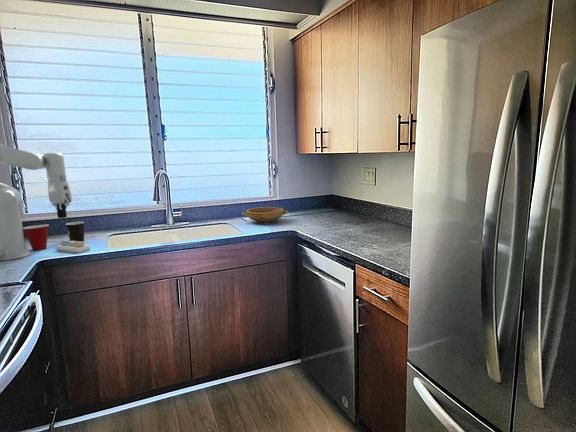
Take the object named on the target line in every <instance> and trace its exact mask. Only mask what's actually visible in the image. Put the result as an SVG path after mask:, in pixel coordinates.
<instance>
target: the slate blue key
mask: <svg viewBox="0 0 576 432" xmlns="http://www.w3.org/2000/svg"><path fill="white" fill-rule="evenodd" d="M69 241H70V239H64V240H61V241H60V242H61V245H66V246H67V245H68V242H69Z"/></svg>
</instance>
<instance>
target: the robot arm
mask: <svg viewBox="0 0 576 432" xmlns="http://www.w3.org/2000/svg"><path fill="white" fill-rule="evenodd" d="M64 159H65V158H64V155H63V153H62V152H47V153H42V152H41V153H40V152H39V153H38V152H32V151H26V150H22V149H19V148H18V149H17V148H14V147H10V146H7V145H5V144H3V143H0V164H3V165H8V166H13V167H17V168H20V169H21V168H22V169H27V170H31V171H32V170H33V171H35V170H41V169H45V170H46V178H47V191H48V199H49V202H50V203H51V206H54V208H55V210H56V213H57V219H63V218H67V207H68V206H70V205H71V204H70V203H72V201H73V199H72V198H73V197H72V193H71V189H70V185H69V182H68V181H67V174H66V166H65V160H64ZM21 200H22V194H21V193H20V191H19V190H18V189H16V188H15V187H13V186H11V185H8V184H5V183H3V182H0V261H11V260H17V259H18V260H19V259H21V258H22V259H23V258H25V257H28V256H30V255H32V254H31V250H27V247H26V239H25V234H24V229H23V228H24V227H23V221H22V216H21V215H22V214H21V211H20V206H19V203H20V202H21Z"/></svg>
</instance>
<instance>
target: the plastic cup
mask: <svg viewBox="0 0 576 432" xmlns="http://www.w3.org/2000/svg"><path fill="white" fill-rule="evenodd" d="M49 226H50V224H48V223H47V224H38V225H30V226H29V225H28V226H24V227H23V231H24V232H25V234H26V236H27V239H28V242H29V244H30V247H31V249H32V250H33V251H42V250H45V249H47V248H48V247H47V245H48V230H49Z"/></svg>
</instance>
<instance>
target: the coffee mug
mask: <svg viewBox="0 0 576 432" xmlns="http://www.w3.org/2000/svg"><path fill="white" fill-rule="evenodd" d="M65 228H66V230H67V231H66V232H67V234H68V240H70V241H77V242H78V241H81V242H85V221H73V222H67V223H65Z"/></svg>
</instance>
